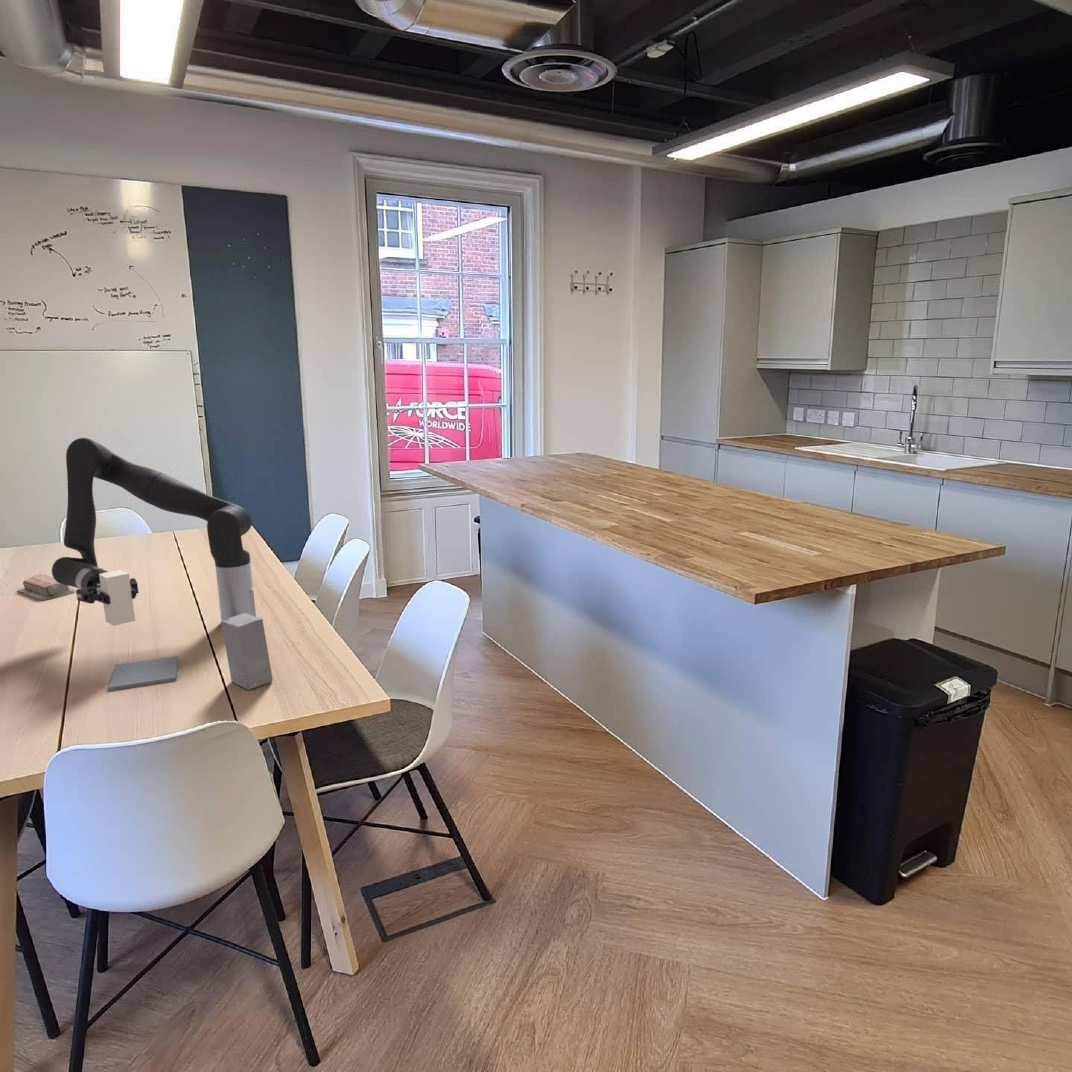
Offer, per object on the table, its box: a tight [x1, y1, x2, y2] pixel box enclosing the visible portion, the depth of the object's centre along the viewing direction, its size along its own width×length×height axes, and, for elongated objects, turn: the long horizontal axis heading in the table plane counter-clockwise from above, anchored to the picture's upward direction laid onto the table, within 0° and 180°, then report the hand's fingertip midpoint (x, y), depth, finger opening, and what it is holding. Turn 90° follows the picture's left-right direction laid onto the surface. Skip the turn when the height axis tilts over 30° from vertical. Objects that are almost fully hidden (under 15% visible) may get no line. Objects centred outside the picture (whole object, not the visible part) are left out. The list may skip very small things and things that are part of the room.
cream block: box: [99, 569, 136, 627], centre depth 184 cm, size 5×5×12 cm
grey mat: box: [108, 655, 180, 692], centre depth 183 cm, size 14×14×1 cm
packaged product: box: [17, 573, 76, 601], centre depth 246 cm, size 18×5×10 cm
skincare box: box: [220, 613, 274, 691], centre depth 176 cm, size 8×7×16 cm
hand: (121, 597), depth 183 cm, fingers closed on cream block, 5 cm apart
